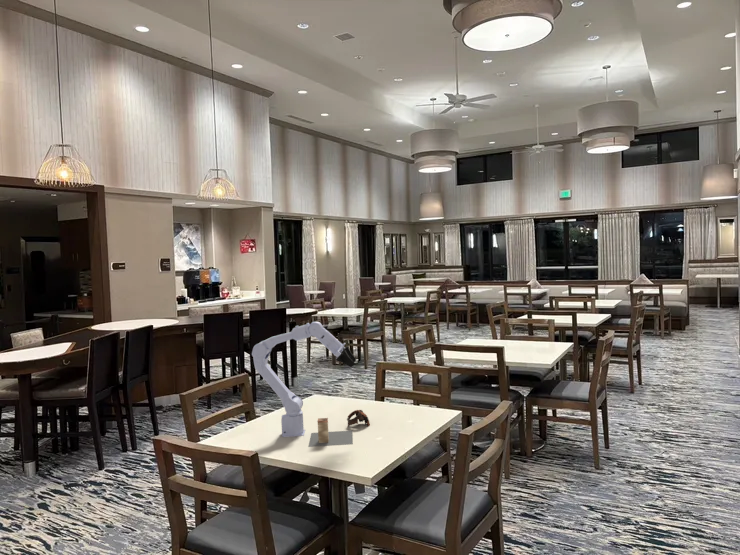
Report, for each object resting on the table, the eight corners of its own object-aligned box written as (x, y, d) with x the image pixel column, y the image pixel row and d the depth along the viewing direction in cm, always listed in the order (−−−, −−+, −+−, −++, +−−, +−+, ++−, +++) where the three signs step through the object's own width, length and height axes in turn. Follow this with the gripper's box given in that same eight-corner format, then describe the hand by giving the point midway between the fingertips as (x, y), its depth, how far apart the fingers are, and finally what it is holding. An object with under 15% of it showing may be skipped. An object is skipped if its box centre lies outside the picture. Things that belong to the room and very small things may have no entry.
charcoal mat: (308, 447, 217) (308, 446, 217) (311, 433, 235) (311, 432, 235) (352, 445, 217) (352, 444, 217) (352, 431, 235) (352, 430, 235)
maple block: (318, 443, 221) (317, 421, 221) (319, 439, 225) (318, 418, 225) (328, 442, 221) (327, 420, 221) (328, 439, 225) (327, 417, 225)
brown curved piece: (371, 429, 238) (361, 415, 236) (353, 438, 240) (343, 424, 238) (372, 415, 249) (363, 401, 248) (355, 424, 251) (346, 410, 249)
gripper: (334, 338, 226) (358, 360, 226) (339, 333, 240) (361, 353, 240) (323, 350, 227) (347, 372, 226) (328, 344, 241) (351, 365, 241)
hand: (354, 363), depth 233 cm, fingers open, 7 cm apart
